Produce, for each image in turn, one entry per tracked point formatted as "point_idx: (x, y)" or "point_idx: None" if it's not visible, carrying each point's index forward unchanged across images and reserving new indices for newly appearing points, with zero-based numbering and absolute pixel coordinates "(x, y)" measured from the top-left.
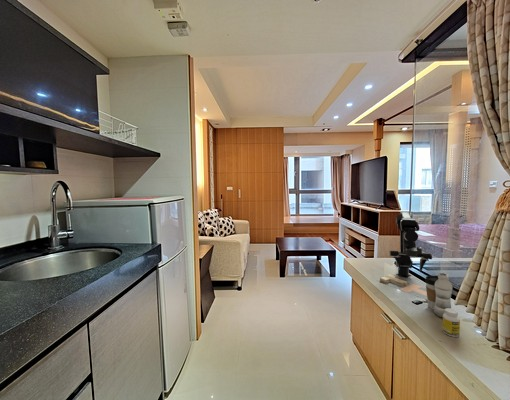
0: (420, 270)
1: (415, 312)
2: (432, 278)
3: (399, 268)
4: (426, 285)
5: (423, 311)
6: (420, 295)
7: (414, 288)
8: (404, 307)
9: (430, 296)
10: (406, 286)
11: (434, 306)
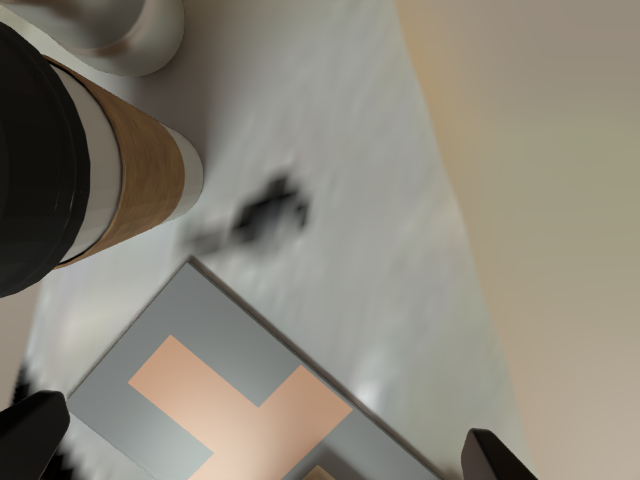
0: (18, 421)
1: (322, 28)
2: None
3: (515, 461)
4: (114, 177)
5: (259, 66)
6: (221, 333)
7: (237, 449)
8: (386, 91)
9: (147, 120)
10: (289, 473)
11: (161, 1)
